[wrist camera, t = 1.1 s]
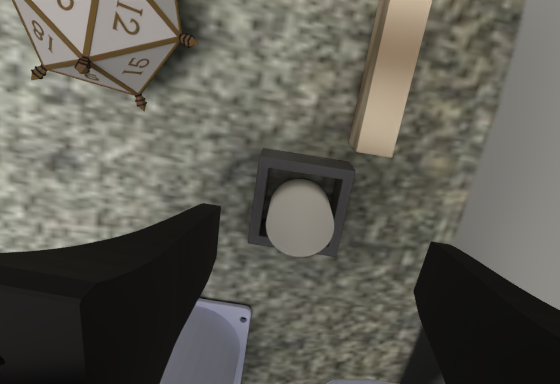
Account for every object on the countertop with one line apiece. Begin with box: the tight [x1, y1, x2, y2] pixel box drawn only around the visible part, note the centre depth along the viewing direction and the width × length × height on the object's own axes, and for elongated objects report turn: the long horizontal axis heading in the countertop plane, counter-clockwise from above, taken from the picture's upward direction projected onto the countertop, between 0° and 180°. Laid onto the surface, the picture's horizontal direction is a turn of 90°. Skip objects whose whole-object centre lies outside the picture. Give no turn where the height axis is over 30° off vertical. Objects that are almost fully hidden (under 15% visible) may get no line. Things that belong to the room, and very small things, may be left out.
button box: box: [248, 148, 355, 257], centre depth 22 cm, size 6×6×2 cm
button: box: [266, 179, 334, 257], centre depth 20 cm, size 4×4×3 cm
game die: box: [12, 0, 198, 111], centre depth 17 cm, size 9×8×10 cm
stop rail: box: [349, 0, 432, 158], centre depth 19 cm, size 10×2×3 cm, turn 171°
